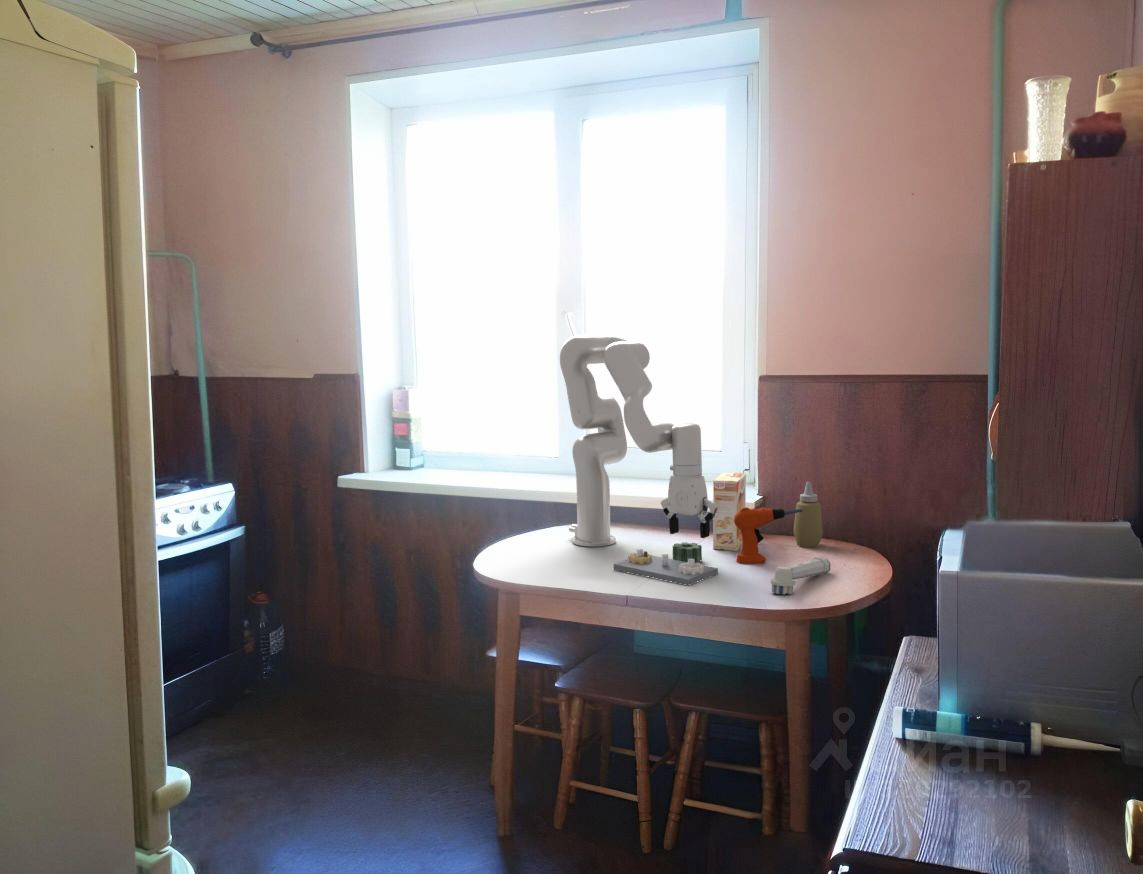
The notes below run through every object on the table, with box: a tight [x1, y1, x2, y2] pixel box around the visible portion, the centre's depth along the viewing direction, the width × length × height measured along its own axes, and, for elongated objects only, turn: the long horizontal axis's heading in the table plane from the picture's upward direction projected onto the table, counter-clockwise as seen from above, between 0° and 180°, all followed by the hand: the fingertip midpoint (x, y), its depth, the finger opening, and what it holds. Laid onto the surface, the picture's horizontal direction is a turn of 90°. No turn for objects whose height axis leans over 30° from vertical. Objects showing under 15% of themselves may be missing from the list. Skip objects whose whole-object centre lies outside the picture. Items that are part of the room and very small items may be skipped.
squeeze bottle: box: [793, 481, 824, 548], centre depth 248 cm, size 8×8×18 cm
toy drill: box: [734, 506, 803, 565], centre depth 232 cm, size 5×19×15 cm, turn 91°
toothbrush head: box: [770, 557, 831, 595], centre depth 212 cm, size 5×7×25 cm
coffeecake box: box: [712, 472, 747, 552], centre depth 251 cm, size 15×7×20 cm, turn 160°
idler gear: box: [672, 542, 703, 563], centre depth 235 cm, size 8×8×4 cm
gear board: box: [613, 548, 719, 586], centre depth 224 cm, size 23×13×4 cm, turn 48°
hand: (689, 535), depth 233 cm, fingers open, 9 cm apart
